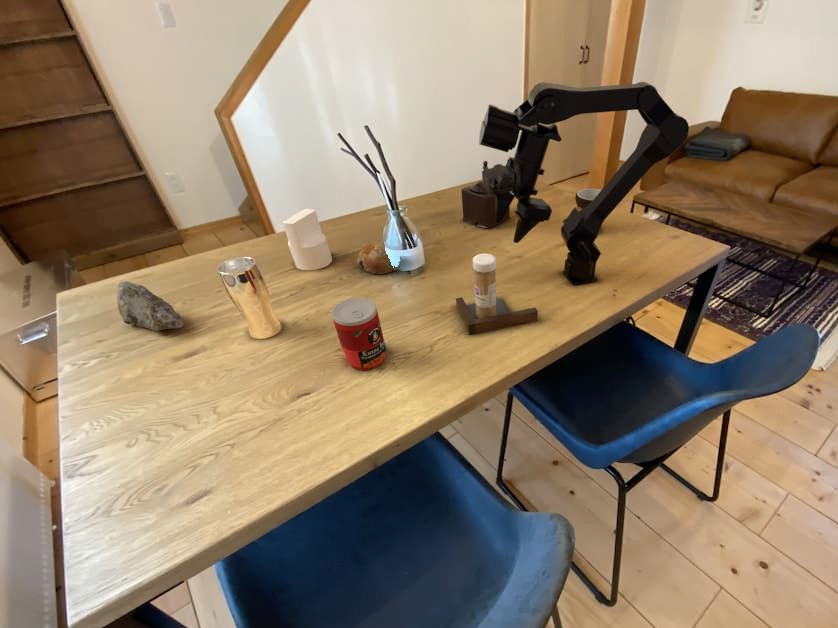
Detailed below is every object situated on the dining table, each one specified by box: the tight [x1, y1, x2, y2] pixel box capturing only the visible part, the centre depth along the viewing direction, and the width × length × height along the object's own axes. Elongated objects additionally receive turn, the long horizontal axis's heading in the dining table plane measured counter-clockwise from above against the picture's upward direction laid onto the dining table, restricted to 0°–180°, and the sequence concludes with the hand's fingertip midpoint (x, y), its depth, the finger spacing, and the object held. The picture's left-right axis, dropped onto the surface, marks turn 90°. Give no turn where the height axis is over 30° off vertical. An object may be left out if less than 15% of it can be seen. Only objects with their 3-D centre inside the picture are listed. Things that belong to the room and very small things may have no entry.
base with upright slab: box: [282, 208, 333, 271], centre depth 108 cm, size 9×9×12 cm
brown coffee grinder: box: [460, 160, 511, 229], centre depth 124 cm, size 16×11×18 cm
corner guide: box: [455, 296, 539, 336], centre depth 93 cm, size 15×10×2 cm
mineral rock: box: [116, 280, 184, 332], centre depth 88 cm, size 13×11×10 cm
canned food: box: [331, 297, 387, 371], centre depth 80 cm, size 8×8×11 cm
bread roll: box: [356, 240, 399, 275], centre depth 109 cm, size 10×10×8 cm
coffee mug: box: [575, 188, 602, 211], centre depth 123 cm, size 12×9×10 cm
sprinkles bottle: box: [472, 253, 497, 319], centre depth 89 cm, size 5×5×14 cm
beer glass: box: [216, 256, 282, 340], centre depth 85 cm, size 7×7×15 cm
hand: (506, 232), depth 96 cm, fingers open, 9 cm apart
